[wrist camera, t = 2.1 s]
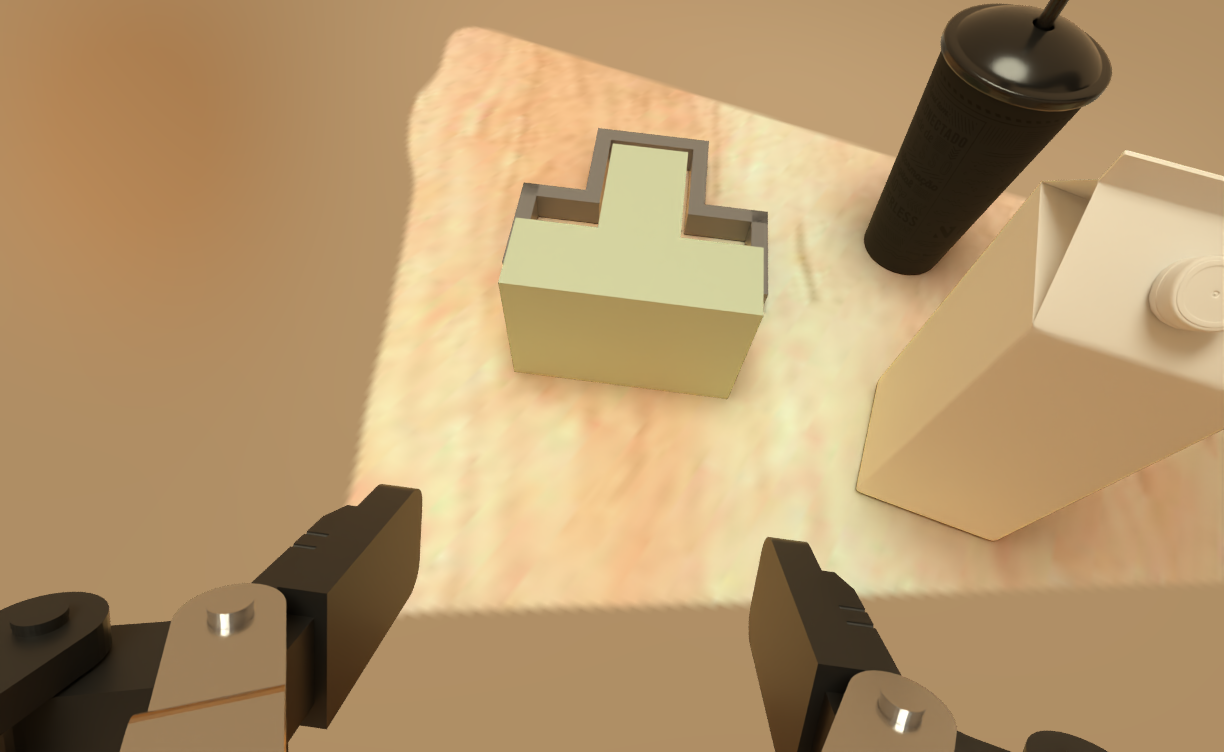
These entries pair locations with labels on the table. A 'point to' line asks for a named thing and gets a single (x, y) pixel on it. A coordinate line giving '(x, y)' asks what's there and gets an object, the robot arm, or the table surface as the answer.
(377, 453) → the table surface
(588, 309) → the t block
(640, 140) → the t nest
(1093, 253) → the milk carton
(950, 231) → the drinking cup
